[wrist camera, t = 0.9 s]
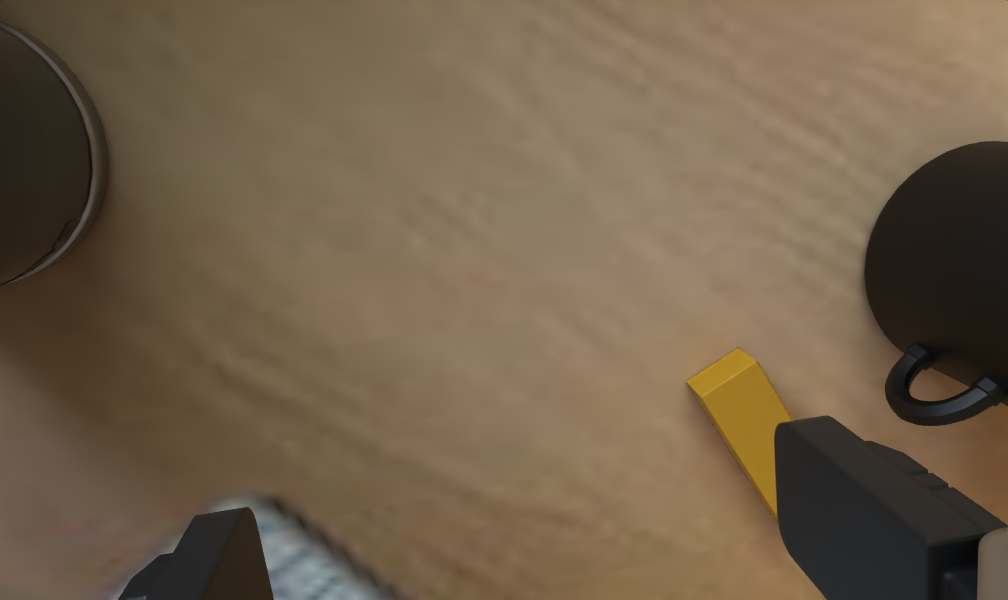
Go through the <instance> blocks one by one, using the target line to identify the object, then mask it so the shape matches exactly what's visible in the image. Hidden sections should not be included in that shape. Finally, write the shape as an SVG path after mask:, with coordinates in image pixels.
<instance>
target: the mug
mask: <svg viewBox="0 0 1008 600" xmlns="http://www.w3.org/2000/svg"><path fill="white" fill-rule="evenodd" d="M865 285H866V291H867V296H868V300H869V304H870V307H871V309H872V311H873V314H874V316H875V319H876V321H877V322H878V324H879V326H880V328H881V329H882V331H883V332H884V334H885V335H886V337H887V338H888V339H889V340H890V341H891V342H892V343H893V344H894V345H895V346H896V347H897V348H898V349H900V350H901V351H902V352H904V355H903V356H902V357H901V358H900V360H899V361H898V362H897V363H896V364H895V365H894V366H893V368H892V369H891V371H890V373H889V375H888V378H887V380H886V383H885V394H886V399H887V401H888V403H889V405H890V407H891V409H892V410H893V411H894V412H895V413H896V415H897V416H898V417H900V418H901V419H903V420H905V421H907V422H910V423H913V424H917V425H922V426H938V425H947V424H952V423H956V422H959V421H963V420H966V419H969V418H971V417H973V416H976V415H977V414H979V413H981V412H982V411H984V410H986V409H987V408H989V407H991V406H992V405H993V406H997V405H998V404H999V403H1000V402H1001V403H1003V404H1005V405H1007V406H1008V142H1000V141H990V142H979V143H974V144H969V145H965V146H961V147H959V148H956V149H953V150H951V151H948V152H946V153H944V154H942V155H940V156H938V157H937V158H935V159H933V160H931V161H930V162H928V163H927V164H925V165H924V166H922V167H921V168H920V169H918V170H917V171H916V172H914V173H913V174H912V175H911V176H910V177H909V178H908V179H907V180H906V181H905V182H904V183H903V184H901V185H900V187H899V188H898V189H897V190H896V191H895V193H894V194H893V195H892V197H891V198H890V199H889V200H888V202H887V203H886V205H885V207H884V208H883V210H882V212H881V214H880V215H879V217H878V219H877V221H876V224H875V226H874V229H873V231H872V234H871V236H870V241H869V245H868V249H867V254H866V262H865ZM929 367H931V368H933V369H935V370H937V371H939V372H941V373H943V374H945V375H947V376H949V377H951V378H953V379H955V380H957V381H959V382H961V383H963V384H965V385H967V386H969V387H970V388H969V389H967V390H966V391H964V392H962V393H960V394H958V395H956V396H954V397H951V398H948V399H945V400H940V401H921V400H918V399H915V398H913V397H912V396H911V395H910V393H909V388H910V386H911V383H912V381H913V380H914V378H915V377H916V376H917V375H918V374H919V372H920V371H921V370H922V369H923V370H927V369H928V368H929Z"/></svg>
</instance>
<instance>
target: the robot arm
mask: <svg viewBox="0 0 1008 600" xmlns="http://www.w3.org/2000/svg"><path fill="white" fill-rule="evenodd" d="M106 178H107V153H106V146H105V140H104V135H103V131H102V128H101V124H100V121H99V118H98V116H97V113H96V110H95V108H94V106H93V104H92V102H91V100H90V98H89V96H88V95H87V93H86V91H85V90H84V88H83V86H82V85H81V83H80V82H79V81H78V79H77V78H76V76H75V75H74V74H73V72H72V71H71V70H70V69H69V68H68V67H67V65H66V64H65V63H64V62H63V61H62V60H61V59H60V58H59V57H58V56H57V55H56V54H55V53H54V52H53V51H52V50H50V49H49V48H48V47H47V46H46V45H44V44H43V43H42V42H41V41H39V40H38V39H36V38H35V37H33V36H32V35H31V34H29V33H28V32H26V31H24V30H22V29H21V28H19V27H17V26H15V25H13V24H11V23H9V22H7V21H5V20H3V19H0V286H2V285H5V284H9V283H12V282H15V281H17V280H20V279H23V278H25V277H28V276H30V275H32V274H35V273H37V272H39V271H41V270H43V269H45V268H47V267H49V266H51V265H52V264H54V263H56V262H57V261H59V260H60V259H61V258H63V257H64V256H65V255H66V254H68V253H69V252H70V251H71V250H72V249H73V248H74V247H75V246H76V245H77V244H78V243H79V242H80V240H81V239H82V238H83V237H84V236H85V234H86V233H87V231H88V230H89V228H90V227H91V225H92V223H93V221H94V219H95V217H96V215H97V213H98V211H99V208H100V205H101V203H102V199H103V195H104V191H105V186H106ZM774 452H775V475H776V498H777V518H778V524H779V529H780V533H781V536H782V539H783V542H784V544H785V546H786V548H787V550H788V552H789V554H790V555H791V557H792V558H793V559H794V561H795V562H796V563H797V564H798V565H799V567H800V568H801V569H802V570H803V571H804V573H805V574H806V575H807V576H808V577H809V579H810V580H811V581H812V582H813V583H814V584H815V586H816V587H817V588H818V589H819V590H820V592H821V593H822V594H823V595H824V596H825V598H826V599H827V600H1008V525H1007V524H1005V523H1004V522H1002V521H1001V520H999V519H998V518H997V517H995V516H994V515H992V514H991V513H989V512H988V511H987V510H985V509H984V508H982V507H981V506H979V505H978V504H976V503H975V502H974V501H972V500H971V499H969V498H968V497H966V496H965V495H963V494H962V493H961V492H959V491H958V490H956V489H955V488H953V487H952V488H949V487H948V483H946V482H945V481H943V480H942V479H940V478H939V477H938V476H936V475H935V474H933V473H928V470H927V469H926V468H925V467H923V466H922V465H920V464H919V463H917V462H916V461H915V460H913V459H912V458H910V457H909V456H907V455H906V454H904V453H903V452H900V451H897V450H894V449H892V448H889V447H886V446H883V445H880V444H878V443H875V442H872V441H864V440H862V439H861V438H860V437H858V436H857V435H856V434H854V433H853V432H851V431H850V430H849V429H847V428H846V427H845V426H843V425H842V424H840V423H839V422H838V421H836V420H835V419H834V418H832V417H830V416H820V417H814V418H807V419H801V420H795V421H789V422H782V423H779V424H778V425H777V427H776V429H775V434H774ZM118 600H274V598H273V593H272V589H271V584H270V580H269V576H268V571H267V567H266V562H265V558H264V553H263V549H262V544H261V540H260V535H259V531H258V527H257V522H256V519H255V516H254V514H253V512H252V510H251V509H250V508H249V507H244V508H238V509H232V510H225V511H219V512H213V513H207V514H200V515H196V516H195V517H194V518H193V519H192V521H191V523H190V525H189V526H188V528H187V530H186V531H185V533H184V535H183V537H182V538H181V540H180V542H179V543H178V545H177V547H176V548H175V550H174V552H173V553H169V554H163V555H159V556H158V557H157V558H156V559H155V560H153V561H152V562H151V563H150V564H148V565H147V566H146V567H145V568H144V569H142V570H141V571H140V572H139V573H138V574H136V575H135V576H134V577H133V578H132V579H131V580H130V582H129V583H128V585H127V586H126V588H125V589H124V591H123V593H122V594H121V596H120V597H119V599H118Z"/></svg>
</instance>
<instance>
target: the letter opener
mask: <svg viewBox="0 0 1008 600" xmlns="http://www.w3.org/2000/svg"><path fill="white" fill-rule="evenodd" d="M687 384H688V386H689V388H690V389H691V391H692V392H693V394H694V395H695V397H696V399H697V400H698V402H699V403H700V405H701V406H702V408H703V410H704V411H705V413H706V414H707V416H708V417H709V419H710V421H711V422H712V424H713V425H714V427H715V429H716V430H717V432H718V433H719V435H720V436H721V438H722V440H723V441H724V443H725V444H726V446H727V447H728V449H729V451H730V452H731V454H732V455H733V457H734V458H735V460H736V462H737V463H738V465H739V466H740V468H741V469H742V471H743V473H744V474H745V476H746V477H747V479H748V480H749V482H750V484H751V485H752V487H753V488H754V490H755V491H756V493H757V495H758V496H759V498H760V499H761V501H762V503H763V504H764V506H765V507H766V509H767V510H768V512H769V513H770V514H771V516H772V517H773V518H774V519H775V520H776V521H777V522H778V518H777V498H776V475H775V452H774V434H775V429H776V427H777V425H778V424H779V423H782V422H789V421H793V420H792V418H791V417H790V415H789V413H788V412H787V410H786V408H785V407H784V405H783V403H782V402H781V400H780V398H779V397H778V395H777V393H776V392H775V390H774V388H773V387H772V385H771V383H770V382H769V380H768V378H767V377H766V375H765V373H764V372H763V370H762V368H761V367H760V365H759V363H758V362H757V361H756V360H755V359H754V358H752V357H751V356H750V355H748V354H747V353H746V352H744V351H743V350H741V349H740V348H737V349H735V350H734V351H732V352H731V353H729V354H728V355H726V356H725V357H723V358H722V359H720V360H719V361H717V362H716V363H714V364H713V365H711V366H709V367H708V368H706V369H705V370H703V371H702V372H700V373H699V374H697V375H696V376H694V377H693V378H691V379H690V380H688V381H687Z"/></svg>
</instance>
